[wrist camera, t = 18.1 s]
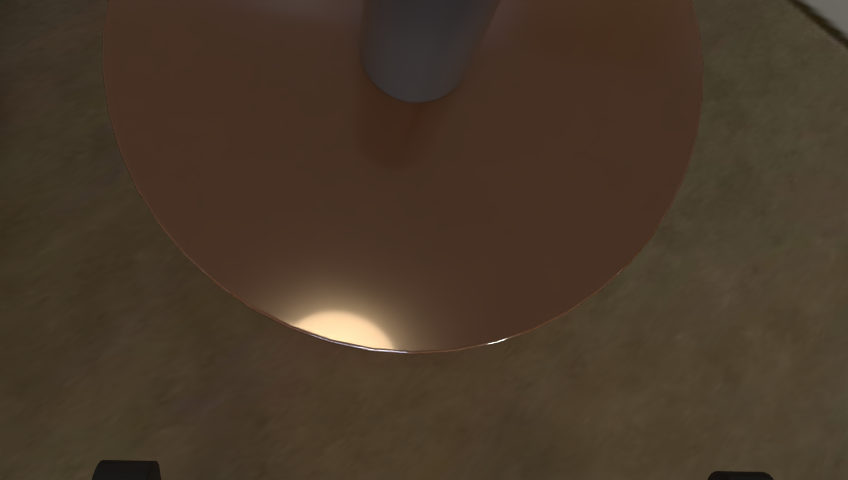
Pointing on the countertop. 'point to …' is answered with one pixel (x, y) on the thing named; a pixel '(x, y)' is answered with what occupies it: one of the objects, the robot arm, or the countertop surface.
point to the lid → (406, 153)
